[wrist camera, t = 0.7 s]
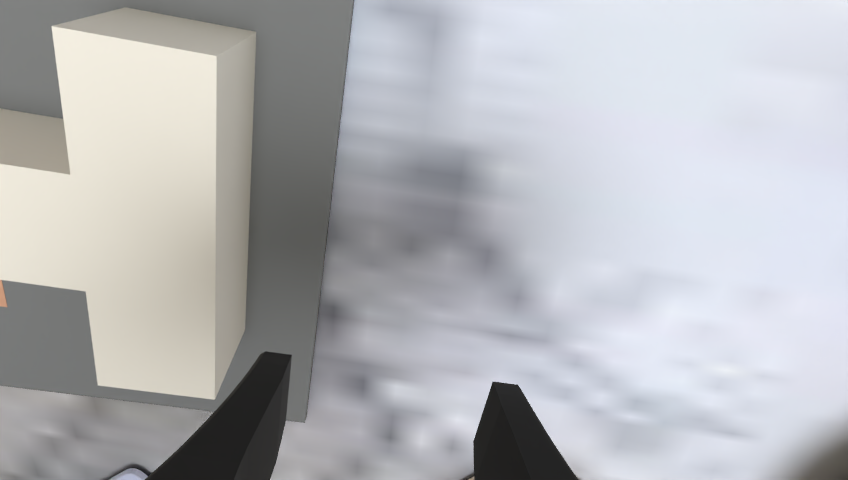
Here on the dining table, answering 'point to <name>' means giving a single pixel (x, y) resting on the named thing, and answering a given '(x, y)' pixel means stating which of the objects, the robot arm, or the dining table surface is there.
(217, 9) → the mat
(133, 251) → the t block
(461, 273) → the dining table surface
